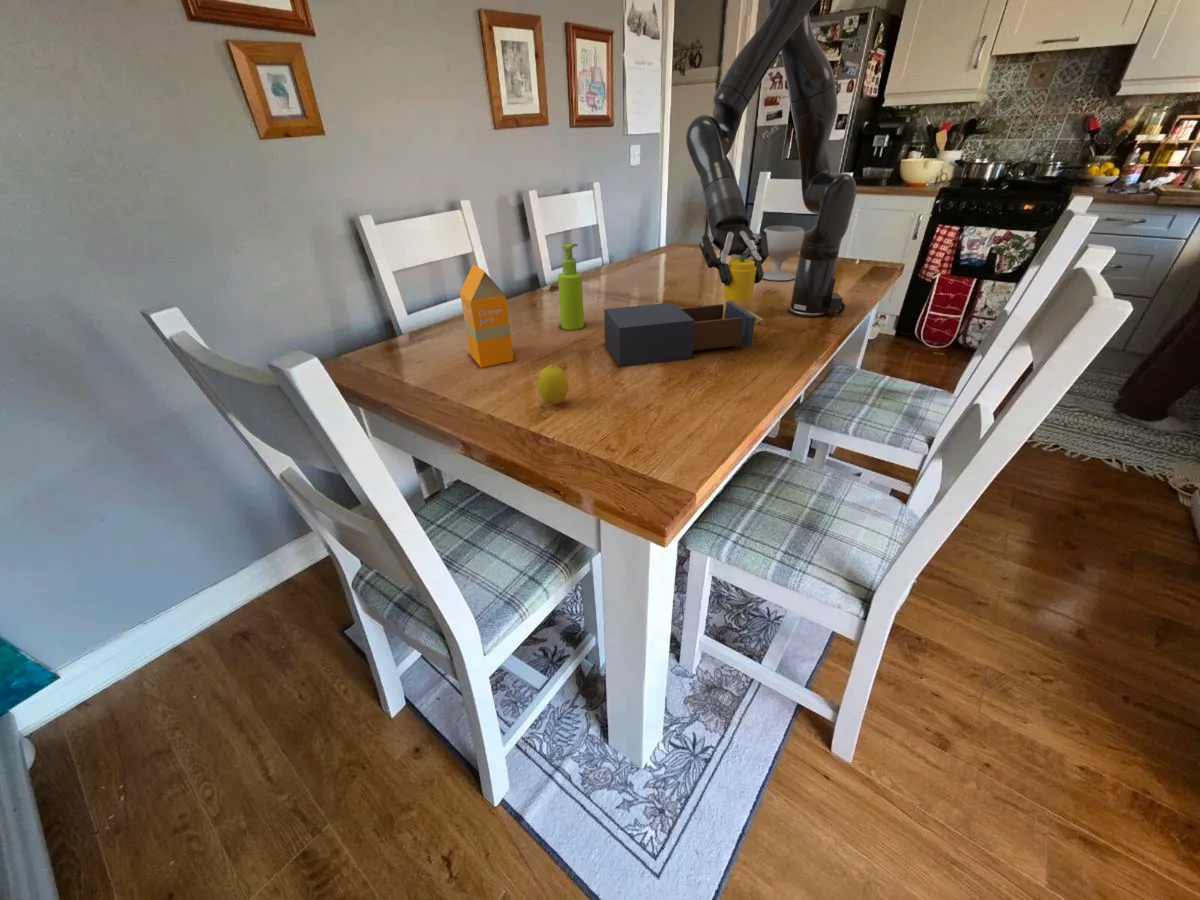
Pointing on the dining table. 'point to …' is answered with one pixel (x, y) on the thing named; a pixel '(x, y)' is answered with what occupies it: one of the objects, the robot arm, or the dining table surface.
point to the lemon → (553, 384)
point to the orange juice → (486, 319)
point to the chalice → (782, 249)
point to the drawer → (722, 326)
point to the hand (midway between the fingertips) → (743, 282)
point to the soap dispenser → (570, 292)
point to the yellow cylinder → (741, 280)
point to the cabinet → (648, 333)
